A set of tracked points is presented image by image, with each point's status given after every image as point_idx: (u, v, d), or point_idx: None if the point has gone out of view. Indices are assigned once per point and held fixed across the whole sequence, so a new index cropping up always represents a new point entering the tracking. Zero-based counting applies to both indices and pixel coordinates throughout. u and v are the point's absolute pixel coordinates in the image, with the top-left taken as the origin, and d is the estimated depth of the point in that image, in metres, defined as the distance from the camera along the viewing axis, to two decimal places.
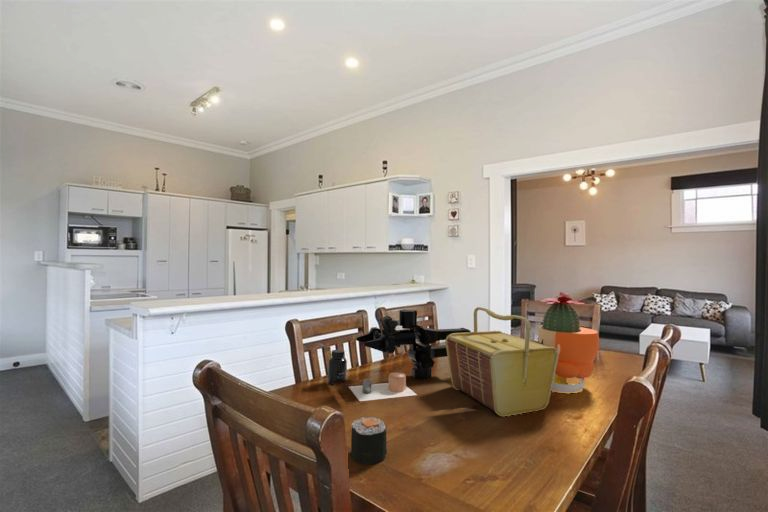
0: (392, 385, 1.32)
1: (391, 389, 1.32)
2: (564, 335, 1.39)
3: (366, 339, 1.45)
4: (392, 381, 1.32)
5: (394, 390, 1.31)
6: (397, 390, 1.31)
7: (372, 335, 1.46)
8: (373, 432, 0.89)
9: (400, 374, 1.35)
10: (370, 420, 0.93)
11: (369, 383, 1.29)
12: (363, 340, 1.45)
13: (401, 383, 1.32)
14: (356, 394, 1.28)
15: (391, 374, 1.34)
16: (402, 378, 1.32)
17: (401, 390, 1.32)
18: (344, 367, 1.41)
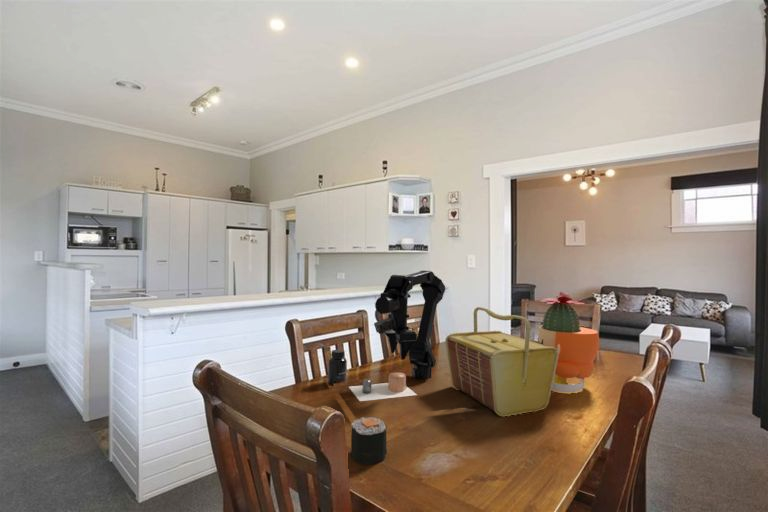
0: (392, 385, 1.32)
1: (391, 389, 1.32)
2: (564, 335, 1.39)
3: (394, 341, 1.39)
4: (392, 381, 1.32)
5: (394, 390, 1.31)
6: (397, 390, 1.31)
7: (391, 334, 1.39)
8: (373, 432, 0.89)
9: (400, 374, 1.35)
10: (370, 420, 0.93)
11: (369, 383, 1.29)
12: (395, 345, 1.39)
13: (401, 383, 1.32)
14: (356, 394, 1.28)
15: (391, 374, 1.34)
16: (402, 378, 1.32)
17: (401, 390, 1.32)
18: (344, 367, 1.41)
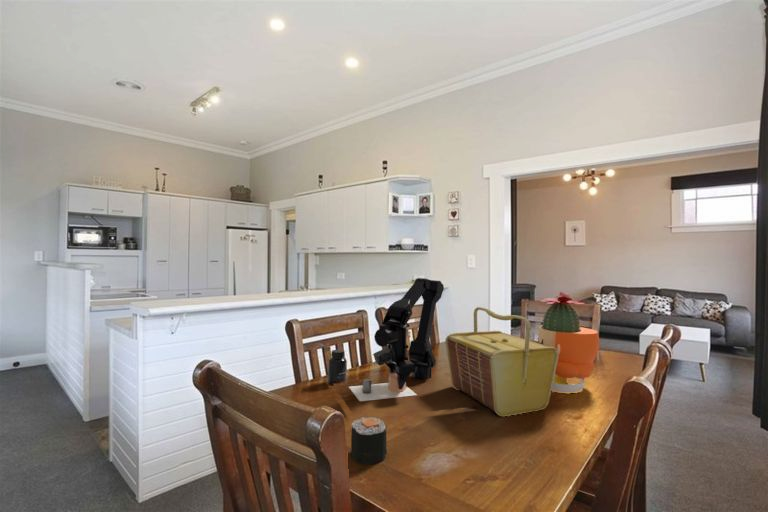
0: (392, 385, 1.32)
1: (391, 389, 1.32)
2: (564, 335, 1.39)
3: None
4: (392, 381, 1.32)
5: (394, 390, 1.31)
6: (397, 390, 1.31)
7: (392, 365, 1.37)
8: (373, 432, 0.89)
9: None
10: (370, 420, 0.93)
11: (369, 383, 1.29)
12: None
13: None
14: (356, 394, 1.28)
15: (391, 374, 1.34)
16: None
17: (401, 390, 1.32)
18: (344, 367, 1.41)
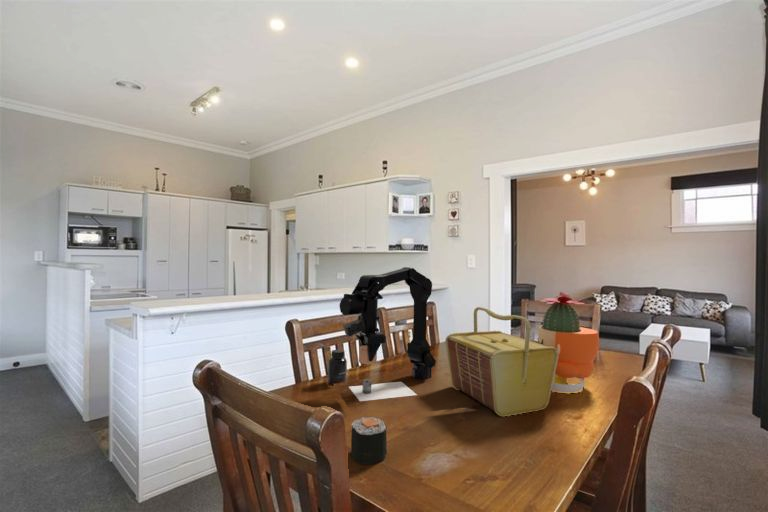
0: (362, 357, 1.28)
1: (361, 361, 1.28)
2: (564, 335, 1.39)
3: (366, 344, 1.33)
4: (362, 353, 1.28)
5: (364, 362, 1.28)
6: (367, 362, 1.27)
7: (363, 337, 1.33)
8: (373, 432, 0.89)
9: None
10: (370, 420, 0.93)
11: (369, 383, 1.29)
12: None
13: None
14: (356, 394, 1.28)
15: (362, 346, 1.30)
16: None
17: (371, 362, 1.28)
18: (344, 367, 1.41)
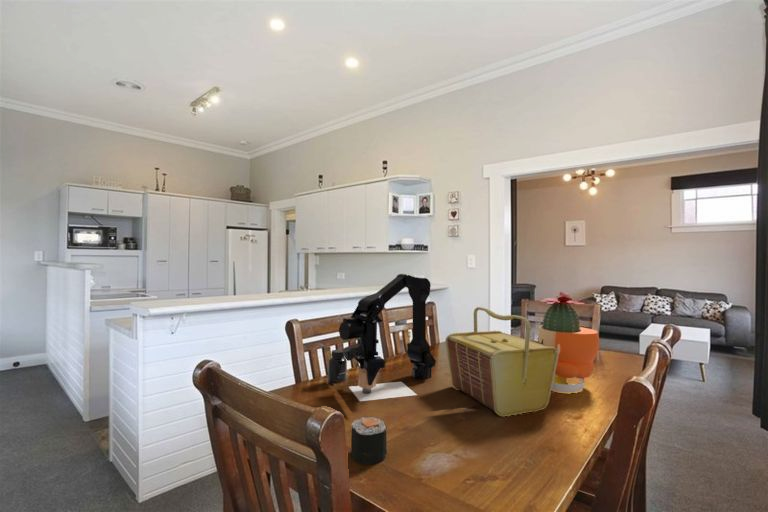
0: (361, 381, 1.28)
1: (360, 385, 1.28)
2: (564, 335, 1.39)
3: None
4: (361, 377, 1.28)
5: (363, 386, 1.28)
6: (366, 386, 1.27)
7: (362, 360, 1.33)
8: (373, 432, 0.89)
9: None
10: (370, 420, 0.93)
11: None
12: None
13: None
14: (356, 394, 1.28)
15: (361, 370, 1.30)
16: None
17: (371, 386, 1.28)
18: (344, 367, 1.41)
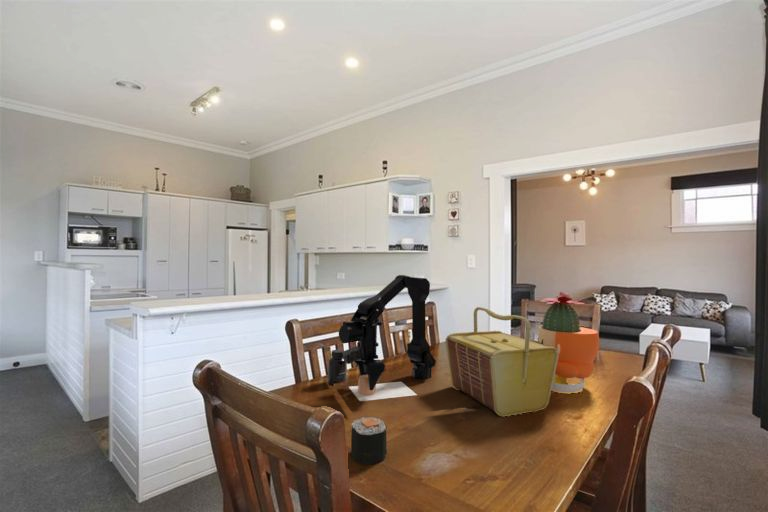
0: (361, 388, 1.28)
1: (360, 392, 1.28)
2: (564, 335, 1.39)
3: (364, 369, 1.35)
4: (361, 384, 1.28)
5: (363, 393, 1.28)
6: (366, 393, 1.27)
7: (361, 362, 1.35)
8: (373, 432, 0.89)
9: None
10: (370, 420, 0.93)
11: None
12: (365, 373, 1.35)
13: None
14: (356, 394, 1.28)
15: (361, 377, 1.30)
16: None
17: (370, 393, 1.28)
18: (344, 367, 1.41)
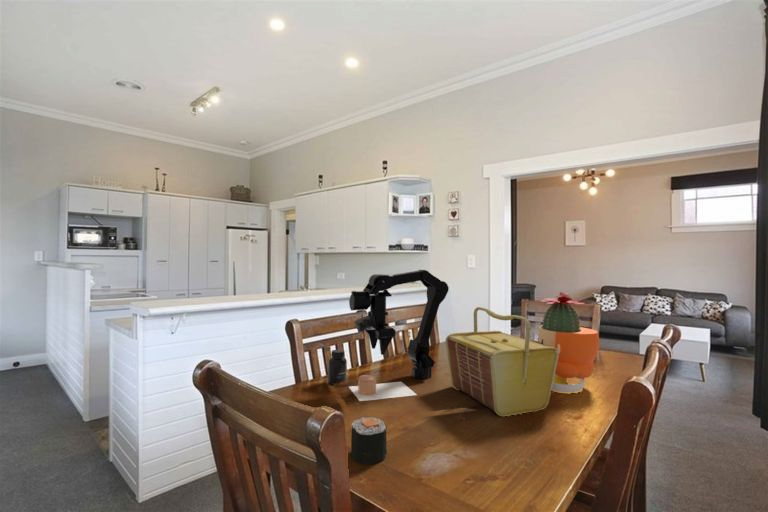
0: (361, 388, 1.28)
1: (360, 392, 1.28)
2: (564, 335, 1.39)
3: (374, 337, 1.46)
4: (361, 384, 1.28)
5: (363, 393, 1.28)
6: (366, 393, 1.27)
7: (371, 331, 1.46)
8: (373, 432, 0.89)
9: (370, 377, 1.31)
10: (370, 420, 0.93)
11: None
12: (375, 341, 1.46)
13: (370, 386, 1.28)
14: (356, 394, 1.28)
15: (361, 377, 1.30)
16: (371, 381, 1.28)
17: (370, 393, 1.28)
18: (344, 367, 1.41)
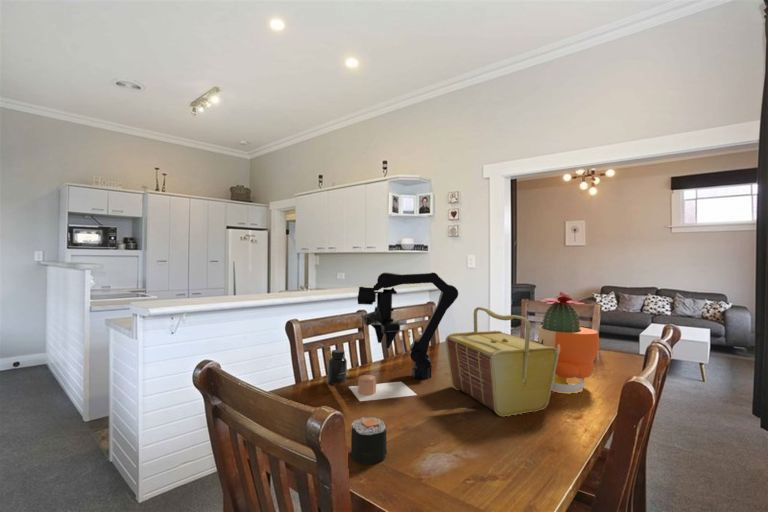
0: (361, 388, 1.28)
1: (360, 392, 1.28)
2: (564, 335, 1.39)
3: (380, 332, 1.54)
4: (361, 384, 1.28)
5: (363, 393, 1.28)
6: (366, 393, 1.27)
7: (377, 326, 1.54)
8: (373, 432, 0.89)
9: (370, 377, 1.31)
10: (370, 420, 0.93)
11: None
12: (381, 336, 1.54)
13: (370, 386, 1.28)
14: (356, 394, 1.28)
15: (361, 377, 1.30)
16: (371, 381, 1.28)
17: (370, 393, 1.28)
18: (344, 367, 1.41)
